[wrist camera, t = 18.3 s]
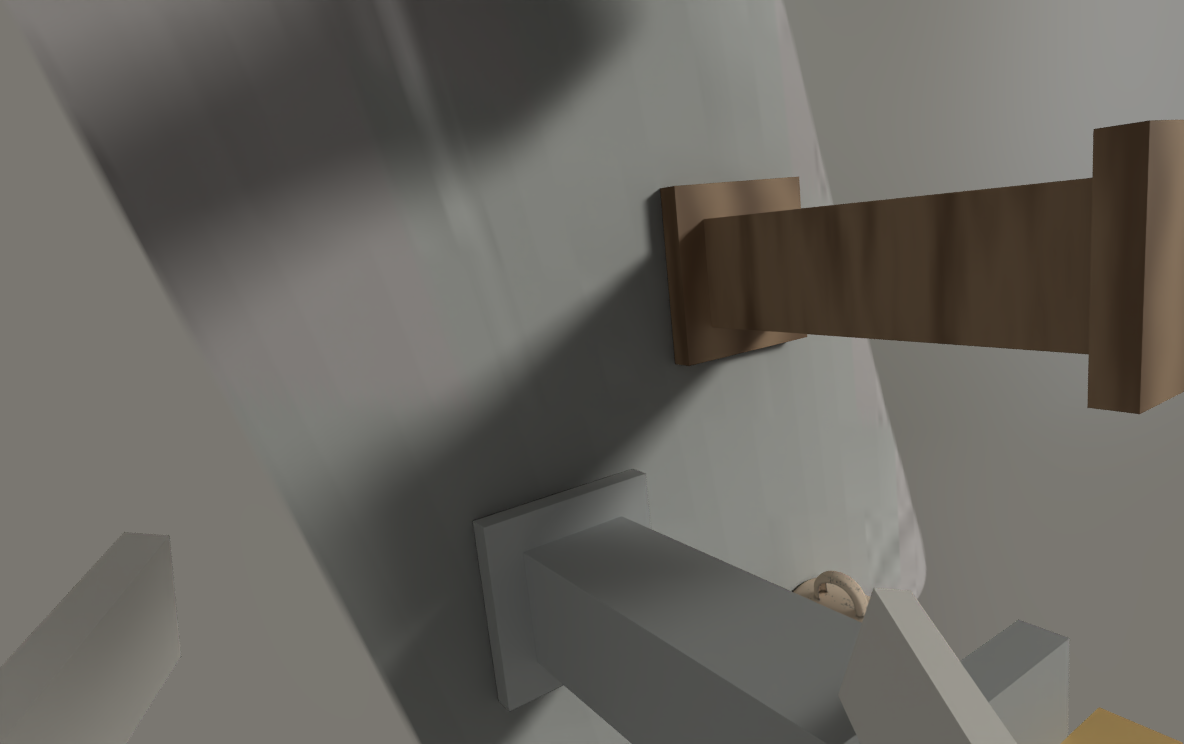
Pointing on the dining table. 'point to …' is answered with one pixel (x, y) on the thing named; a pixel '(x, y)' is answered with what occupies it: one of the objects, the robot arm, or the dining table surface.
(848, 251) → the walnut stand
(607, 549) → the grey stand
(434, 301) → the dining table surface
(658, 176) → the dining table surface
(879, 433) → the dining table surface
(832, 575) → the teacup with lid
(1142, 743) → the ochre bar
